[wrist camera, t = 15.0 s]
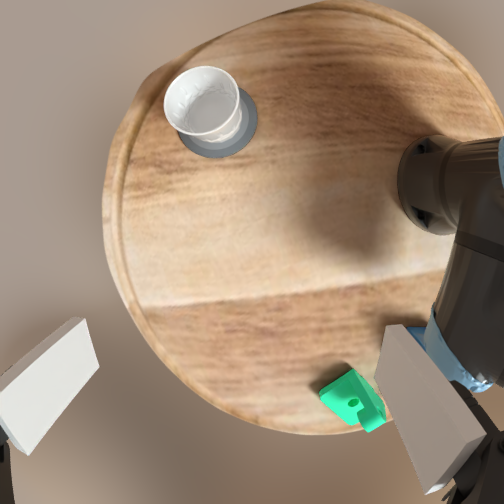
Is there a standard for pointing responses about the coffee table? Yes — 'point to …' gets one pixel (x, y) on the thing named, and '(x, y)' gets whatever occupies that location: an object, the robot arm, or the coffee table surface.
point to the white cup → (204, 104)
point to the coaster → (231, 144)
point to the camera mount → (354, 401)
